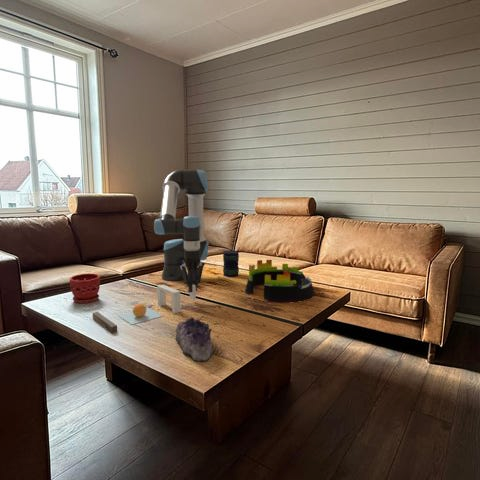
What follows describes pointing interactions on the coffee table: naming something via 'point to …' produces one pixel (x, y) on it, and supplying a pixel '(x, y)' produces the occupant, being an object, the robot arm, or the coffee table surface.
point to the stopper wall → (105, 322)
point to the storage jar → (230, 263)
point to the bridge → (175, 297)
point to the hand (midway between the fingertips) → (192, 298)
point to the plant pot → (85, 287)
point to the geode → (195, 339)
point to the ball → (139, 310)
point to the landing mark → (133, 319)
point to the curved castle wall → (279, 283)
